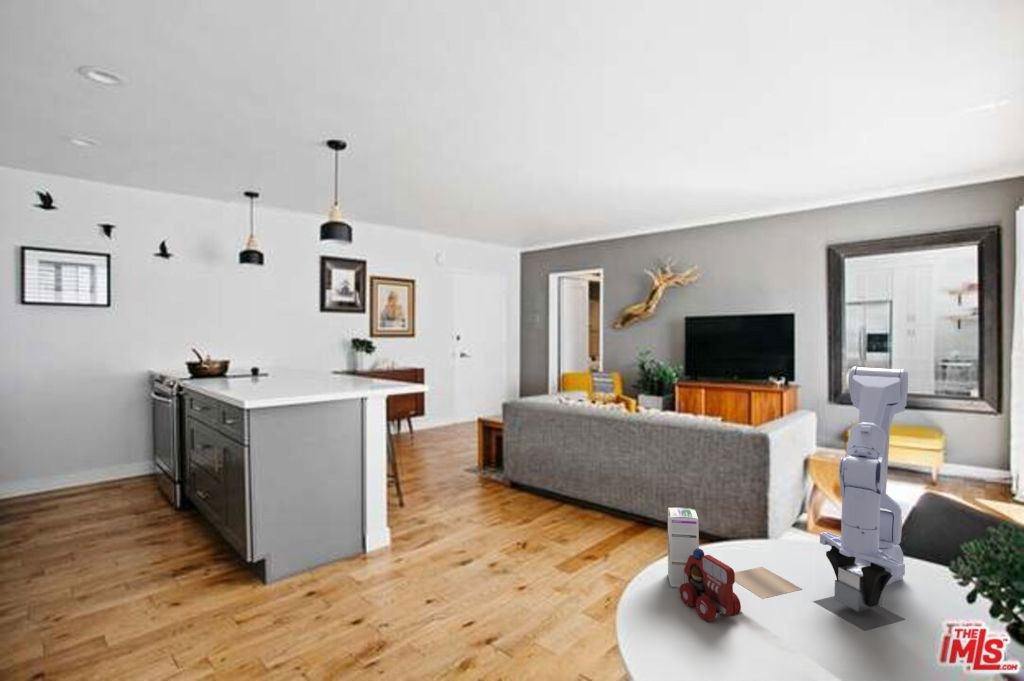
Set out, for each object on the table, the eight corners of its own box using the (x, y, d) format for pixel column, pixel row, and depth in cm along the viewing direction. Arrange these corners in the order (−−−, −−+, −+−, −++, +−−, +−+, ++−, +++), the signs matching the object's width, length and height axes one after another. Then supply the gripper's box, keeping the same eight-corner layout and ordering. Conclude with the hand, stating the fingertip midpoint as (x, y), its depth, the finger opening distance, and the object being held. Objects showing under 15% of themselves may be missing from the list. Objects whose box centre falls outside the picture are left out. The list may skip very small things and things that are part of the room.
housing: (858, 593, 100) (858, 561, 100) (882, 605, 96) (882, 572, 95) (834, 599, 98) (835, 566, 98) (858, 611, 94) (858, 578, 93)
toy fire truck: (702, 589, 107) (703, 538, 107) (747, 623, 95) (748, 565, 95) (672, 595, 105) (673, 543, 104) (715, 630, 93) (716, 571, 93)
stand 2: (851, 599, 103) (851, 591, 103) (905, 627, 94) (905, 619, 94) (812, 609, 100) (812, 601, 100) (864, 639, 90) (864, 630, 90)
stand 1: (762, 573, 114) (762, 566, 114) (802, 596, 104) (802, 589, 104) (724, 581, 110) (724, 574, 110) (762, 606, 101) (762, 598, 101)
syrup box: (699, 590, 107) (700, 518, 106) (668, 587, 108) (669, 516, 107) (695, 576, 112) (696, 508, 112) (666, 573, 114) (667, 506, 113)
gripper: (808, 512, 102) (806, 582, 102) (885, 542, 88) (882, 623, 89) (835, 507, 104) (834, 576, 105) (914, 536, 90) (911, 615, 91)
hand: (858, 597), depth 97 cm, fingers closed on housing, 4 cm apart
